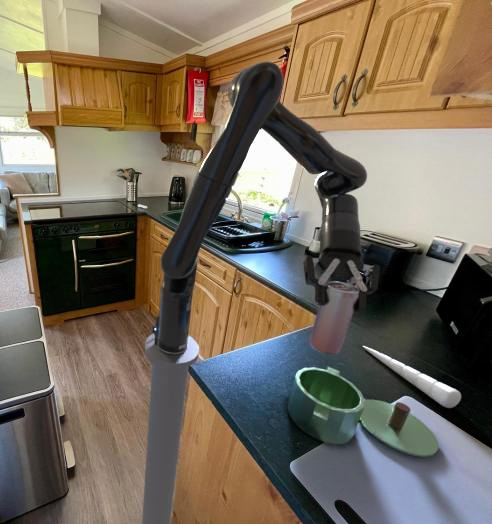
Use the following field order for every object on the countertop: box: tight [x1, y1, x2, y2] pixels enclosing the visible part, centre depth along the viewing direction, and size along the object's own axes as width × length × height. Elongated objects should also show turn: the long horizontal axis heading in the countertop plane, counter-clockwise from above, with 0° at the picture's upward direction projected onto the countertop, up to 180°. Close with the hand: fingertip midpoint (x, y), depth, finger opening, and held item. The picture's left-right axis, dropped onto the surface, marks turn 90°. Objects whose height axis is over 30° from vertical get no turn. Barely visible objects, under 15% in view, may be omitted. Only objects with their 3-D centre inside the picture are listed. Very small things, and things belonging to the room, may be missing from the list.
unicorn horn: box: [362, 345, 462, 409], centre depth 78 cm, size 5×24×5 cm, turn 6°
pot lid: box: [359, 399, 439, 458], centre depth 61 cm, size 14×14×6 cm
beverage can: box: [309, 280, 359, 356], centre depth 61 cm, size 6×6×15 cm
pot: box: [287, 366, 366, 445], centre depth 63 cm, size 13×18×8 cm
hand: (339, 307), depth 58 cm, fingers closed on beverage can, 6 cm apart
